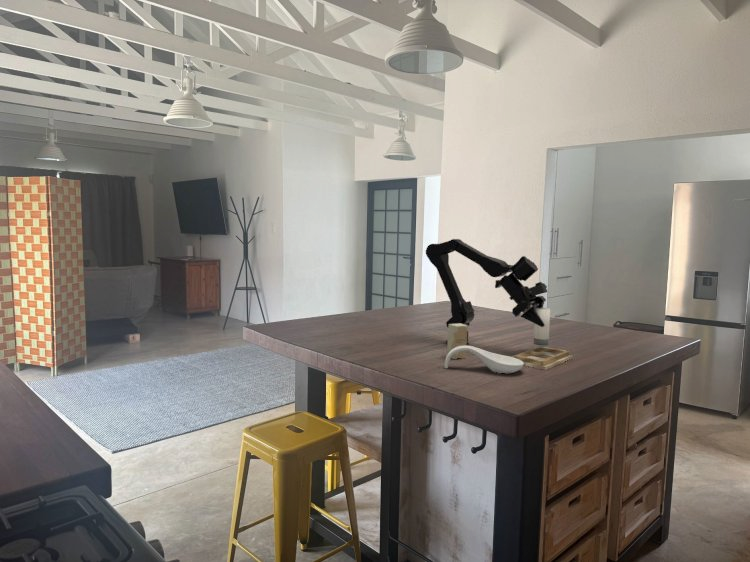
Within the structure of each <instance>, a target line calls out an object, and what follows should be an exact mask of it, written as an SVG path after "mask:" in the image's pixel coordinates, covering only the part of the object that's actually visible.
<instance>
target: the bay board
mask: <svg viewBox="0 0 750 562" xmlns="http://www.w3.org/2000/svg"><path fill="white" fill-rule="evenodd" d="M510 357H513V358H516V359H519V360H521V361H523V363H524V366H525V367H528V366H529V368H533V367H534V369H539V370H544V371H547V370H549V368H550V369H552V368H554V367H556V365H557V366H558V364H559V365H562V364H563V363H565V361H566V362H568V361H570V360H572V359H573V355H572V354H570V351H569V350H564V349H558V348H553V347H546V346H543V345H540V346H538V347H536V348H531V349H529V350H525V351H523V352H520V353H517V354H513V355H511V356H510ZM569 359H570V360H569ZM567 360H568V361H567ZM524 366H523V367H524Z"/></svg>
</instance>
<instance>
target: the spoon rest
mask: <svg viewBox="0 0 750 562" xmlns="http://www.w3.org/2000/svg"><path fill="white" fill-rule="evenodd" d="M459 351H466V352H471V353H472V354H474V355H475V356H477V358H479V359H480V361H482V362H483V364H484V365H485V366H486V367H487V368H488V369H489V370H490V371H491V372H493V373H496V372H497V374H501V373H505V375H506V374H507V375H509V374H513V373H514V374H515V373H516V372H518V371H520V370H521V369H522V368H523V367H524V366H523V365H524V363H523V361H521V360H519V359H516V358H513V357H511V356H509V355H504V354H499V353H494V352H490V351H487V350H485V349H482V348H478V347H477V346H473V345H467V346H466V345H464V346H458V347H456V348H454V349H452V350H451V351H450V352H449V353H448V355H447V354H446V357H445V359H444V360H445V361H444V369H448V368H449V365H450V361H451V359H452V358H451V357H452V356H453V355H454V354H455V353H457V352H459Z"/></svg>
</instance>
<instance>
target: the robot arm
mask: <svg viewBox="0 0 750 562" xmlns="http://www.w3.org/2000/svg"><path fill="white" fill-rule="evenodd" d="M454 252H457V253H458V254H459V255H462V256H463V257H465V258H467V259H469V260H470V261H471V262H473V263H475V264H476V265H478V266H480V267H481V268H482V270H483V271H484V272H485V273H486V274H488V275H489V276H490V277H492V278H500V277H502V278H500V279H496V280H495V284H494V288H495V289H499V288H502V289H503V290H504V291H505V292H506V294H508V296H510V297H509V300H510V301H514V303H515V304H516V305H515V306H514V307H513V308H511V309H512V311H511V312H512V314H513V315H514V316H515V318H517V317H519V316H520V318H522V319H525V320H527V321H529V322H531V323H533V324H534V325H535V324H537V325H539V326H541V327H543V326H545V324H544V323H543V321H542V320H541V318H540V316H539V315H538V313H537V312H536V308H544V304H545V302H546V301H547V299H546V298H545V297H544V296H543V295H542V294H545V293H548V289H547V287H548V285H546V284H545V283H543V282H542V281H539V282H536V283H535V285H534V286H532V287H529V286H526V285H525V286H524V285H523V283H522V282H521V281H524V282H526V281H527V280H529V278H530V277H532V276H533V275H534V274H535V273H536V272H537V271H538V269H539V268H538V266H537V265H536V263H535V262H533V261H532V260H530V259H529V258H527V256H526V255H522V256H521V257H520V258H519V259H518V260H517V262H515V263H514V264H512V265H511V264H508V262H506V260H502V259H500V258H497V257H494V256H493V257H492V256H490V255H486V254H485V253H483V252H482V251H480V250H477V249H476V248H474V247H473V246H471V245H470V244H467V243H465V242H464V241H463V240H461V239H459V238H452V239H450V240H448V241H444V242H440V243H431V244H429V245H427V247H426V249H425V255H426V257H427V259H428V260H429V261H430V263H431V264H432V265H433V267H435V269H436V270H437V272H438V275H439V277H440V279H441V283H442V284H443V287H444V289H445V292H446V295H447V297H448V299H449V301H450V312H451V313H450V314H451V317H449V319H448V320H447V321H446V322H445V324H446V328H447V329H448V326H449V324H459V323H461V324H464V325H467V326H468V327H469V326H470V324H471V322H473V320H474V317H475V309H474V307H473V305H472V301H469V300H468V301H466V299H464V298H463V294H462V293H461V291H460V287H459V285H458V283H457V281H456V278H455V276H454V274H453V272H452V269H451V267H450V263H449V262H450V261H449V260H450V258H449V256H450V255H449V254H451V253H454ZM508 273H510V274H508ZM507 274H508V275H507ZM521 313H522V314H521ZM445 341H446V343H448V339H446V340H445ZM467 344H470V343H469V331H468V330H467Z"/></svg>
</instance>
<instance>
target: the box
mask: <svg viewBox="0 0 750 562" xmlns="http://www.w3.org/2000/svg"><path fill="white" fill-rule="evenodd" d="M468 328H469V326H467V325H464V324H461V323H459V324H449V326H448V328H447V340H448V342H446V343H447V344H446V345H447V347H446V356H447V355H448V353H449V352H450V351H451V350H452V349H454V348H456V347H458V346H464V345H466V346H468V345H467V343H468V342H467V331H468V330H469V329H468ZM465 357H466V358H467V351H459V352H457V353H455V354H454V355H453V356H452V357H451V359H453V360H457V358H461V359H466V358H465Z"/></svg>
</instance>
